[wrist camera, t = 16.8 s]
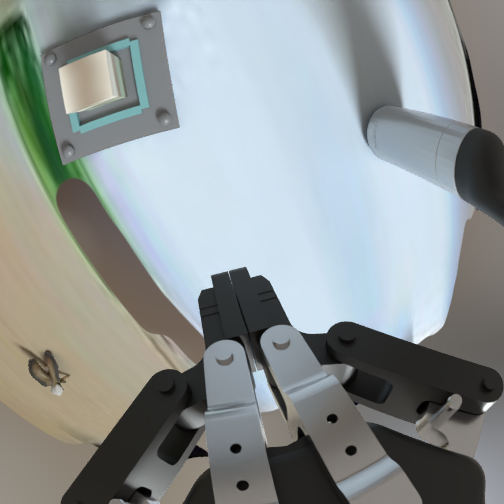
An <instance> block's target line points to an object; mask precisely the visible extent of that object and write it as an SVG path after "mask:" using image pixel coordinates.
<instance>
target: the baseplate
mask: <svg viewBox="0 0 504 504" xmlns="http://www.w3.org/2000/svg"><path fill="white" fill-rule="evenodd" d="M103 50H107V51H109V52H110V53H112V54H113V55H115V56H116V57H118V58H119V59H121V60H122V66H123V72H124V78H125V84H126V90H127V95H128V97H127V98H123V99H120V100H117V101H114V102H111V103H108V104H105V105H102V106H100V107H97V108H94V109H91V110H87V111H81V112H75V113H69V114H66V110H65V105H64V99H63V94H62V88H61V81H60V75H59V68H61V67H63V66H66V65H68V64H70V63H72V62H75V61H77V60H79V59H82V58H84V57H87V56H89V55H92V54H95V53H97V52H100V51H103ZM41 61H42V70H43V77H44V84H45V90H46V96H47V102H48V107H49V112H50V117H51V121H52V126H53V130H54V134H55V138H56V142H57V146H58V150H59V153H60V157H61V160H62V164H63V165H65V164H67V163H70V162H72V161H75V160H77V159H80V158H82V157H85V156H87V155H90V154H93V153H96V152H98V151H101V150H104V149H107V148H110V147H113V146H116V145H119V144H122V143H125V142H128V141H132V140H135V139H138V138H142V137H145V136H149V135H152V134H156V133H160V132H164V131H168V130H172V129H176V128H180V126H179V121H178V116H177V110H176V105H175V100H174V94H173V89H172V83H171V77H170V71H169V65H168V59H167V53H166V46H165V40H164V33H163V26H162V19H161V12H160V11H158V12H154V13H150V14H146V15H142V16H138V17H135V18H131V19H128V20H125V21H121V22H118V23H115V24H112V25H109V26H106V27H103V28H101V29H98V30H95V31H93V32H90V33H88V34H85V35H83V36H80V37H78V38H76V39H73V40H71V41H69V42H67V43H64V44H62V45H60V46H58V47H56V48H54V49H52V50H50V51H48V52H46V53H44V54H42V55H41Z"/></svg>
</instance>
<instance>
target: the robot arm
mask: <svg viewBox="0 0 504 504" xmlns="http://www.w3.org/2000/svg"><path fill="white" fill-rule="evenodd" d="M367 138H368V143H369V146H370V148H371V150H372V152H373V153H374V154H375V155H376V156H377V157H378V158H380V159H382V160H385V161H387V162H389V163H391V164H394V165H396V166H398V167H400V168H402V169H404V170H406V171H409V172H411V173H413V174H415V175H417V176H419V177H421V178H423V179H425V180H427V181H429V182H431V183H433V184H435V185H437V186H439V187H441V188H443V189H444V190H446V191H448V192H450V193H452V194H454V195H456V196H457V197H459V198H461V199H463V200H464V201H466V202H468V203H470V204H471V205H473V206H474V207H476V208H477V209H479V210H480V211H482V212H484V213H485V214H487V215H488V216H490V217H491V218H493V219H494V220H495V221H497V222H498V223H500V224H501V225H502V226H504V145H503V143H502V141H501V140H500V138H499V137H498V136H497V135H495V134H494V133H492V132H490V131H487V130H484V129H481V128H478V127H475V126H472V125H469V124H465V123H462V122H458V121H455V120H451V119H448V118H444V117H440V116H436V115H432V114H428V113H424V112H419V111H415V110H410V109H406V108H400V107H395V106H383V107H381V108H379V109H378V110H376V111H375V112H374V114H373V115H372V117H371V119H370V121H369V124H368V128H367ZM229 274H230V277H229ZM229 274H228V271H227V272H223V273H219V274H215V275H211V278H212V283H213V288H209V289H205V290H202V291H201V293H200V296H199V298H198V303H199V309H200V316H201V322H202V328H203V334H204V340H205V346H206V351H205V354H204V357H203V358H202V360H201V361H200V362H199V363H198V364H197V365H196V366H194V367H192V368H191V369H189V370H187V371H185V372H183V373H181V372H179V371H177V370H173V369H166V370H162V371H160V372H158V373H156V374H155V375H153V376H152V377H151V379H150V380H149V381H148V383H147V384H146V385H145V387H144V388H143V389H142V391H141V392H140V393H139V395H138V396H137V397H136V399H135V400H134V401H133V403H132V404H131V405H130V407H129V408H128V409H127V411H126V412H125V413H124V415H123V416H122V417H121V419H120V420H119V421H118V423H117V424H116V425H115V427H114V428H113V429H112V431H111V432H110V433H109V435H108V436H107V438H106V439H105V440H104V442H103V443H102V444H101V446H100V447H99V448H98V450H97V451H96V452H95V454H94V455H93V456H92V458H91V459H90V461H89V462H88V463H87V464H86V466H85V467H84V469H83V470H82V471H81V473H80V474H79V476H78V477H77V478H76V479H75V481H74V482H73V483H72V485H71V486H70V488H69V489H68V490H67V492H66V493H65V494H64V496H63V497H62V500H61V504H161V503H160V502H159V501H160V500H161V498H162V497H163V495H164V494H165V492H166V491H167V489H168V488H169V486H170V485H171V483H172V482H173V480H174V478H175V477H176V475H177V474H178V472H179V471H180V469H181V468H182V466H183V464H184V463H185V461H186V460H187V458H188V457H189V455H190V453H191V452H192V450H193V448H194V447H195V445H196V443H197V442H198V440H199V439H200V437H201V435H202V434H203V432H204V430H206V439H207V448H208V456H209V464H210V468H209V469H207V470H206V471H205V472H204V473H203V474H202V475H201V476H200V477H199V478H198V479H197V481H196V482H195V483H194V485H193V487H192V488H191V490H190V492H189V494H188V496H187V497H186V499H185V501H184V502H183V504H485V475H484V471H483V469H482V467H481V466H480V464H479V463H478V462H477V461H476V460H475V459H473V458H474V455H475V451H476V448H477V444H478V441H479V437H480V433H481V429H482V425H483V421H484V416H485V413H486V411H487V410H488V408H490V407H491V406H492V405H493V404H494V403H495V402H496V401H497V400H498V398H499V397H500V396H501V395H502V392H503V381H502V378H501V376H500V375H499V373H498V372H497V371H495V370H494V369H492V368H489V367H485V366H482V365H479V364H476V363H472V362H469V361H466V360H462V359H460V358H456V357H453V356H450V355H447V354H444V353H441V352H438V351H435V350H432V349H428V348H426V347H423V346H420V345H417V344H414V343H411V342H408V341H405V340H402V339H399V338H396V337H393V336H390V335H387V334H385V333H382V332H379V331H376V330H373V329H370V328H368V327H365V326H362V325H359V324H356V323H353V322H340V323H337V324H335V325H333V326H332V327H331V328H330V329H329V330H328V332H327V333H323V334H306V333H302V332H300V331H298V330H297V329H295V328H294V327H293V326H292V325H291V323H290V322H289V320H288V318H287V316H286V314H285V312H284V310H283V307H282V305H281V303H280V301H279V299H278V298H277V295H276V293H275V291H274V289H273V287H272V285H271V283H270V281H268V280H267V279H266V278H264V277H263V276H261V275H260V276H256V277H252V278H250V275H249V273H248V270H247V268H246V267H243V268H239V269H235V270H231V271H229ZM230 279H231V280H230ZM231 283H232V284H231ZM253 358H254V360H253ZM254 361H255V364H256V367H257V370H258V371H259V370H262V369H264V372H265V375H266V378H267V382H268V386H269V389H270V391H271V393H272V395H273V397H274V399H275V402H276V404H277V406H278V408H279V410H280V412H281V414H282V416H283V418H284V421H285V423H286V425H287V428H288V431H289V434H290V436H291V438H292V441H293V443H292V444H290V445H288V446H283V447H268V444H267V439H266V436H265V432H264V428H263V423H262V419H261V414H260V410H259V406H258V401H257V397H256V392H255V381H254V377H253V373H252V372H256V368H255V364H254ZM352 401H355V402H357V403H359V404H362V405H365V406H367V407H370V408H372V409H375V410H378V411H380V412H382V413H385V414H388V415H391V416H394V417H396V418H399V419H402V420H405V421H408V422H411V423H414V424H416V430H417V433H418V435H419V437H420V438H422V439H424V440H426V441H428V442H429V443H430V444H428V443H425V442H423V441H420V440H417V439H415V438H412V437H409V436H407V435H404V434H402V433H399V432H396V431H394V430H391V429H389V428H387V427H384V426H381V425H379V424H374V423H369V422H366V421H365V420H364V418H363V417H362V415H361V414H360V412H359V411H358V409H357V408H356V406H355V405H354V403H353V402H352Z"/></svg>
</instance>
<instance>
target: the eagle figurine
mask: <svg viewBox="0 0 504 504" xmlns="http://www.w3.org/2000/svg"><path fill="white" fill-rule="evenodd" d="M45 355H46V362H47V367H46V366H45V367H46V368H45V369H46V371H47V372H46V371H45V370H43V368H42V367H41V366H40V365H39V364H38V362H37V361H36V359H35V358H34V359H30V360H29V361H28V362H29V364H28V366H29V370H30V371H29V372H30V374H31V376H32V377H33V378H35V380H37V381H38V382H39V383H40V384H41V385H43V386H45V387H47V386H51V392H52V393H53V394H55V395H57V396H60V395H61V394H62V392H63V390H64V389H63V388H62V386H61V384H60V383H66V381H64V380H65V379H66V378H68V377H69V376H70V375H66V376H65V377H63V378H62V379H60V378H59V375H58V374H59V373H58V365H57V363H56V361H55V359H54V357H53V356H52V355H51V354H50V353H49V352H48V351H46V353H45Z"/></svg>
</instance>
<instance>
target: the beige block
mask: <svg viewBox="0 0 504 504" xmlns="http://www.w3.org/2000/svg"><path fill="white" fill-rule="evenodd" d="M59 75H60V81H61V88H62V94H63V99H64V105H65V110H66V114H69V113H75V112H81V111H87V110H91V109H94V108H97V107H100V106H102V105H105V104H108V103H111V102H114V101H117V100H120V99H123V98H127V97H128V95H127V90H126V84H125V78H124V72H123V66H122V60H121V59H119V58H118V57H116V56H115V55H113V54H112V53H110V52H109V51H107V50H103V51H100V52H97V53H95V54H92V55H89V56H87V57H84V58H82V59H79V60H77V61H75V62H72V63H70V64H68V65H66V66H63V67H61V68H59Z"/></svg>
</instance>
